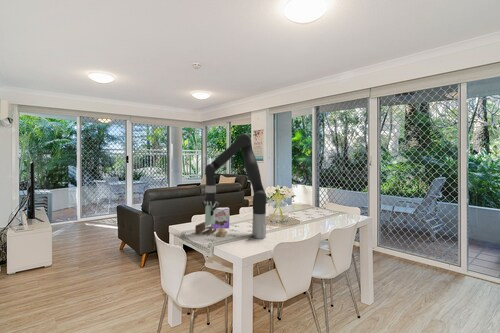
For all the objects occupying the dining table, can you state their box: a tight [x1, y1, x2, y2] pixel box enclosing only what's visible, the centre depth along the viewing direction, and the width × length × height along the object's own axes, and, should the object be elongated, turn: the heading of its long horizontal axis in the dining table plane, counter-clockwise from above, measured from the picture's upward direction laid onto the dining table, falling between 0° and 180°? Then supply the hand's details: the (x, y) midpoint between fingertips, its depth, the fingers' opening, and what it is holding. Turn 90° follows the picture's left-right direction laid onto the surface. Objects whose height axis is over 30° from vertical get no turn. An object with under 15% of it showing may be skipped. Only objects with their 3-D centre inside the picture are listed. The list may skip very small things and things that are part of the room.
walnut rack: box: [194, 221, 217, 236], centre depth 204 cm, size 10×12×7 cm
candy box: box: [210, 207, 231, 230], centre depth 219 cm, size 14×6×16 cm, turn 101°
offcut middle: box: [215, 230, 228, 238], centre depth 200 cm, size 5×10×2 cm, turn 170°
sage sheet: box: [204, 204, 215, 227], centre depth 203 cm, size 2×11×14 cm, turn 160°
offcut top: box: [217, 228, 226, 236], centre depth 200 cm, size 5×10×2 cm, turn 5°
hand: (210, 215), depth 203 cm, fingers closed on sage sheet, 2 cm apart
